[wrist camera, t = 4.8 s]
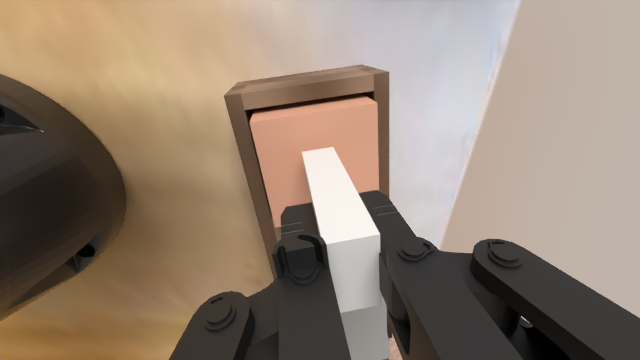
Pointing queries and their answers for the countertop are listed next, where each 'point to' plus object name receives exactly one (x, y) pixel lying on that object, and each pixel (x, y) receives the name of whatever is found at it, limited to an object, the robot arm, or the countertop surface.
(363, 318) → the grey key
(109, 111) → the countertop surface
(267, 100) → the brown wooden long tray
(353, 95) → the terracotta key
